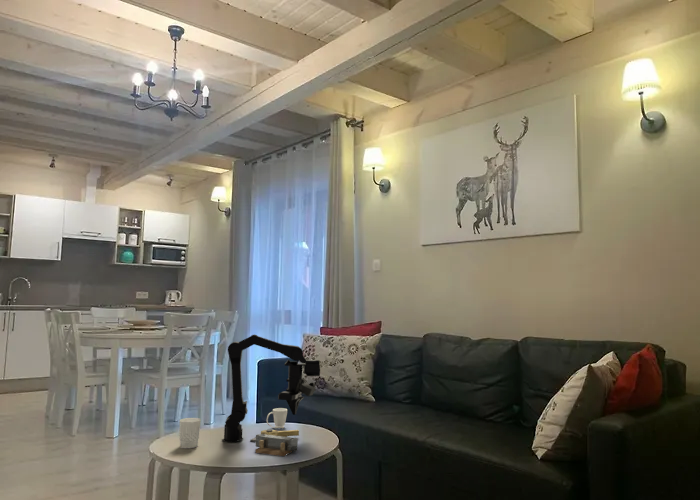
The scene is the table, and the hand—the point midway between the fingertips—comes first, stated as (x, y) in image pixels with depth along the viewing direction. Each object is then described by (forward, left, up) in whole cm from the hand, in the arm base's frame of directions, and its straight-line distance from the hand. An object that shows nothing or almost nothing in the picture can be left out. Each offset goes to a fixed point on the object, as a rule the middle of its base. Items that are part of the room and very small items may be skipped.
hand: (294, 414), depth 220 cm
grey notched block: (+2, -19, -9) cm, 21 cm away
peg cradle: (+2, -19, -10) cm, 22 cm away
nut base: (-9, -5, -10) cm, 14 cm away
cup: (-17, +16, -10) cm, 25 cm away
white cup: (-32, -27, -10) cm, 43 cm away
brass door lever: (-5, -2, -9) cm, 11 cm away
